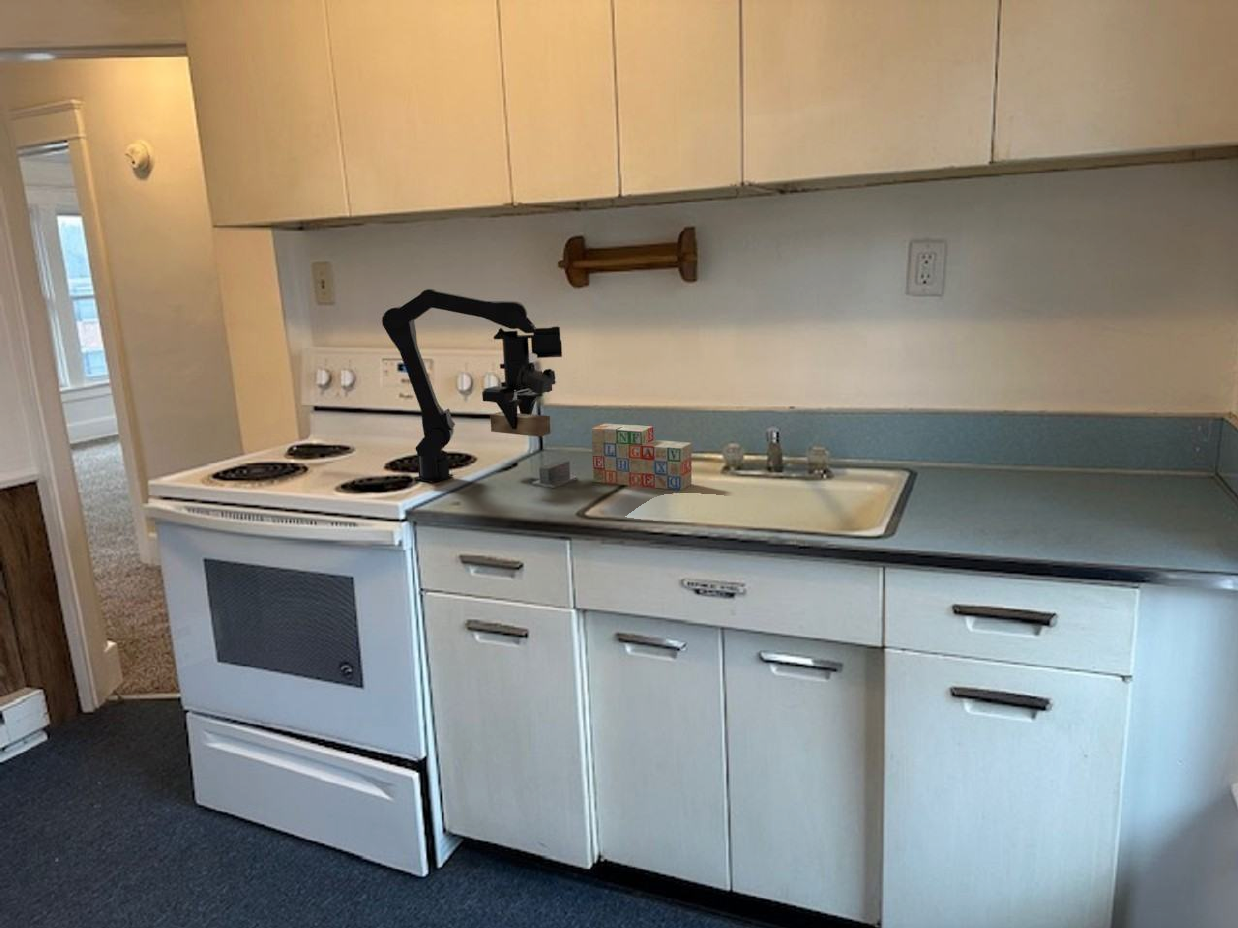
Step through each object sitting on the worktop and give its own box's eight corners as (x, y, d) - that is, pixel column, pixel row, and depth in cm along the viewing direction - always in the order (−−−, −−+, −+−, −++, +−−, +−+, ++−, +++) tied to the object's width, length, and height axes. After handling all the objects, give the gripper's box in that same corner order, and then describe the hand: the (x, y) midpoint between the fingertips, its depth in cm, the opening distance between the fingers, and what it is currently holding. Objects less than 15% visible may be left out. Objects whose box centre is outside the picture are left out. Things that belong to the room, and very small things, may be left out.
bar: (491, 431, 199) (490, 414, 198) (502, 428, 202) (501, 411, 202) (539, 436, 192) (538, 418, 191) (550, 433, 195) (549, 415, 194)
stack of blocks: (692, 484, 188) (692, 428, 185) (680, 491, 183) (680, 434, 180) (606, 475, 198) (604, 422, 195) (592, 481, 192) (590, 427, 189)
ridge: (532, 485, 190) (531, 467, 189) (556, 476, 198) (555, 458, 197) (554, 488, 187) (553, 470, 186) (577, 478, 195) (577, 461, 194)
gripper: (519, 365, 181) (523, 438, 185) (569, 355, 197) (572, 422, 200) (478, 363, 187) (483, 434, 191) (530, 354, 203) (534, 419, 206)
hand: (520, 427), depth 197 cm, fingers closed on bar, 4 cm apart
